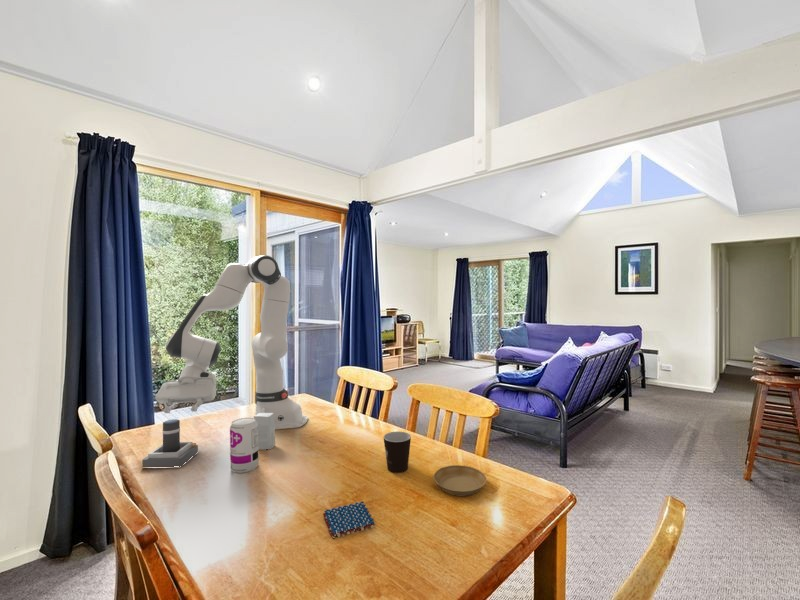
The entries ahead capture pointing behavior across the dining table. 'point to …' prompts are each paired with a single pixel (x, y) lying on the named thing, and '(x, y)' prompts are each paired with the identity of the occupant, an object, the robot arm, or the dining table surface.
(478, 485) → the plant saucer
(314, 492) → the dining table surface
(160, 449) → the dock
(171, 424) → the lens
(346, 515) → the woven mat
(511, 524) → the dining table surface
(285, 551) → the dining table surface
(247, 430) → the supplement can
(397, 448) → the coffee mug
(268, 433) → the skincare box
